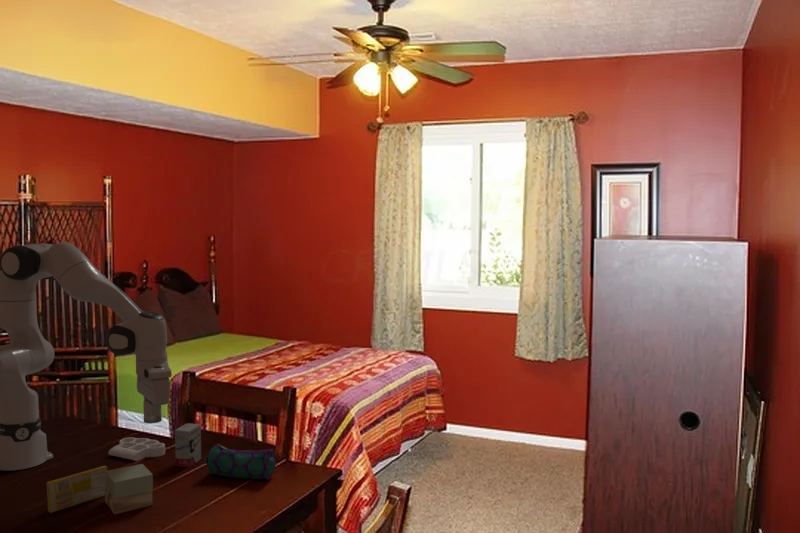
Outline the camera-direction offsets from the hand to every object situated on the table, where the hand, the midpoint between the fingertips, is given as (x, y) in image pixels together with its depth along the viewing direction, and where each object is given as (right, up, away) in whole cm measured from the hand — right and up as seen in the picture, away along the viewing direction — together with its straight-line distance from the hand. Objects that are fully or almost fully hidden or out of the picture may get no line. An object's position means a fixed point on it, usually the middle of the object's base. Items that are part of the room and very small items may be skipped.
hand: (152, 413), depth 205 cm
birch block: (-1, -22, -14) cm, 26 cm away
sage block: (-1, -18, -15) cm, 23 cm away
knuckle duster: (-14, -20, +27) cm, 36 cm away
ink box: (+5, -20, +18) cm, 27 cm away
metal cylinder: (0, -2, 0) cm, 2 cm away
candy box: (-15, -22, -14) cm, 30 cm away
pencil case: (+25, -21, +6) cm, 33 cm away
